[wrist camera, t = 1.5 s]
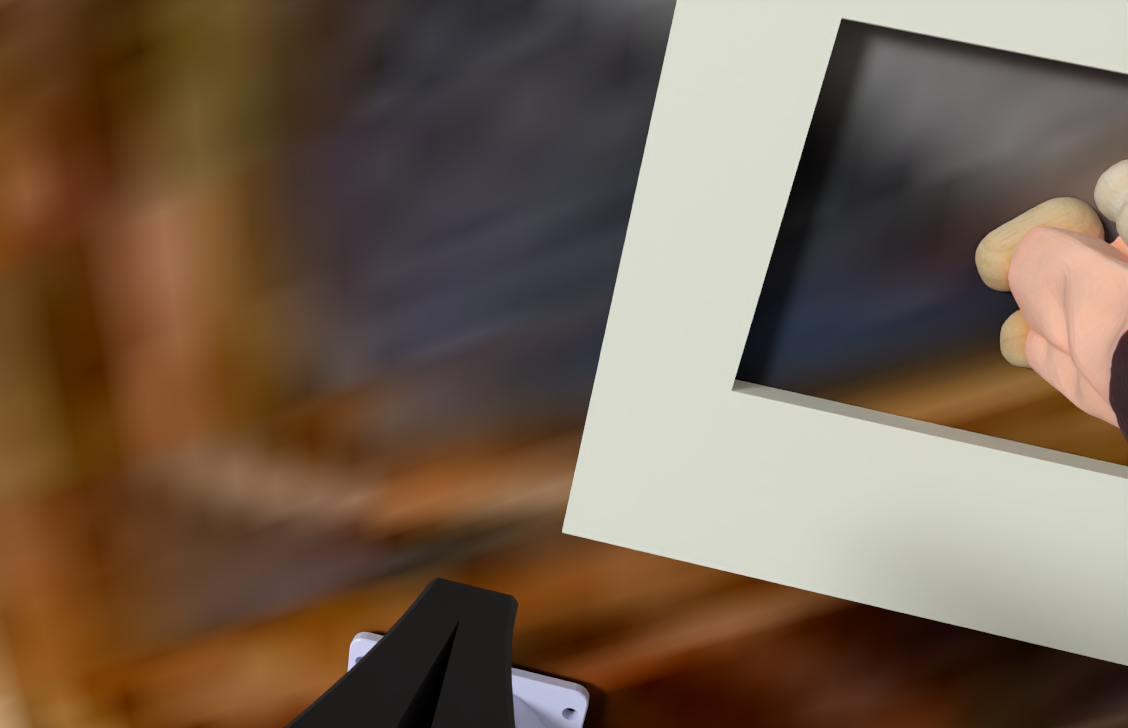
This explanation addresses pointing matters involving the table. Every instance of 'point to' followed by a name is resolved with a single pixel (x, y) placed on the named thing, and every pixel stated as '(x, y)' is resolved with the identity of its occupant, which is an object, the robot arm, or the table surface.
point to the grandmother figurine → (1068, 295)
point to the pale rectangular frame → (809, 424)
